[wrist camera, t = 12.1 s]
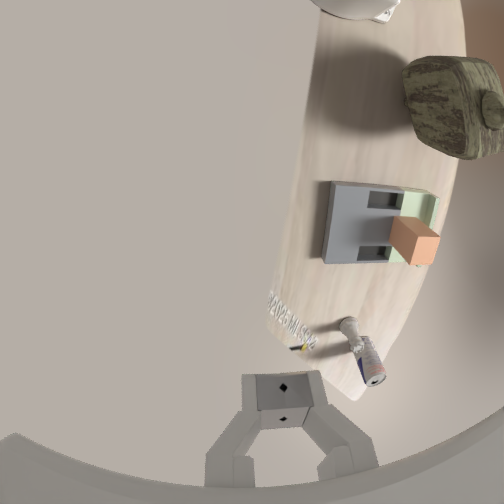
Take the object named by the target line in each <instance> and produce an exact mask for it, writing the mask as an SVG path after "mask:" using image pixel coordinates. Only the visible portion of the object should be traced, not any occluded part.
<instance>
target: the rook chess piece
mask: <svg viewBox="0 0 504 504" xmlns="http://www.w3.org/2000/svg"><path fill="white" fill-rule="evenodd" d="M358 326H359V324H358V322H357V319H355V318H353V317H348V318H345V319H344V320H343V321H342V322H341V323H340V325H339V329H340V330H341V332H342V334H344V335H345V336H347V338H348V339H349V344H350V345H351V346H350V350H352V351H353V352H355V353H357V351H359V352H361V349H362V350H363V349H364V341H361V337H359V334H358Z"/></svg>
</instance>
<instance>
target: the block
mask: <svg viewBox="0 0 504 504" xmlns="http://www.w3.org/2000/svg"><path fill="white" fill-rule="evenodd" d="M440 238H441V237H440V236H439V235H437V234H436V233H435V232H434V231H433V230H431V229H430V228H429V227H428V226H427V225H425V224H424V223H423V222H422V221H420V220H419V219H418V218H416V217H407V216H394V219H393V224H392V228H391V233H390V237H389V241H388V242H389V243H390V244H391V245H392V246H393V247H394V248H395V249H396V250H397V251H398V253H399V254H400V255H401V256H402V257H403V258H404V259H405V260H406V262H407V263H408V264H409V265H426V264H432V262H433V260H434V256H435V254H436V250H437V247H438V244H439V241H440Z"/></svg>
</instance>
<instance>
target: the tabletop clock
mask: <svg viewBox="0 0 504 504" xmlns="http://www.w3.org/2000/svg"><path fill="white" fill-rule="evenodd" d="M402 79H403V84H404V88H405V92H406V97H407V98H405V100H404V104H405V106H407V107H409V110H410V113H411V118H412V122H413V126H414V130H415V133H416V135H417V137H418V139H419V140H420V141H421V142H423V143H424V144H426V145H428V146H430V147H432V148H434V149H436V150H438V151H440V152H443V153H445V154H447V155H449V156H452V157H456V158H460V159H464V160H473V159H477V158H481V157H484V156H488V155H491V154H495V153H499V152H503V151H504V96H503V91H502V87H501V83H500V80H499V77H498V75H497V73H496V71H495V69H494V67H493V65H492V64H490V63H489V62H487V61H485V60H482V59H478V58H470V57H457V56H426V57H423V58H419V59H416V60H414V61H412V62H411V63H410V64H409V65H408V66H407V67H406V68H405V69H404V70H403V71H402Z"/></svg>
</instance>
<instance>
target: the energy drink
mask: <svg viewBox="0 0 504 504" xmlns="http://www.w3.org/2000/svg"><path fill="white" fill-rule="evenodd" d="M361 341H364V349H363V350H362V349H361V352H359V351H357V353H355V352H353V353H354V356H355V358H356V361H357V364H358V366H359V369H360V372H361V375H362V377H363V380H364V383H365V384H366V385H367V386H369V387H371V386H376V385H378V384H380V383H381V382H383V381H384V380H385V378H386V372H385V370H384V367H383V365H382V363H381V360H380V358H379V356H378V354H377V351H376V349H375V347H374V345H373V343H372V340H371V338H369V337H366V336H364V337H361Z"/></svg>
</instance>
